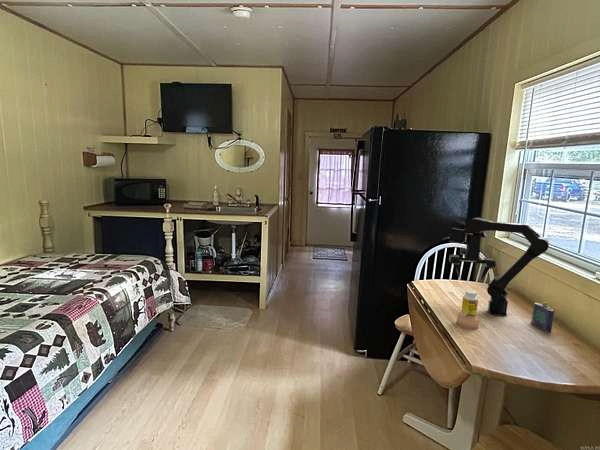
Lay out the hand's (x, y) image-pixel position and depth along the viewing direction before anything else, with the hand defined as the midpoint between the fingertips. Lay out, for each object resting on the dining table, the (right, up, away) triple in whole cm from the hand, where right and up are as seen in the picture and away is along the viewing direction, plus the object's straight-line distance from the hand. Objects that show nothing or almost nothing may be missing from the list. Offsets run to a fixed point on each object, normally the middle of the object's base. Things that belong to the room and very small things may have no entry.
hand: (469, 278), depth 165 cm
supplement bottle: (-10, -12, -19) cm, 25 cm away
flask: (+20, -17, -18) cm, 32 cm away
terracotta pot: (-10, -16, -19) cm, 27 cm away
